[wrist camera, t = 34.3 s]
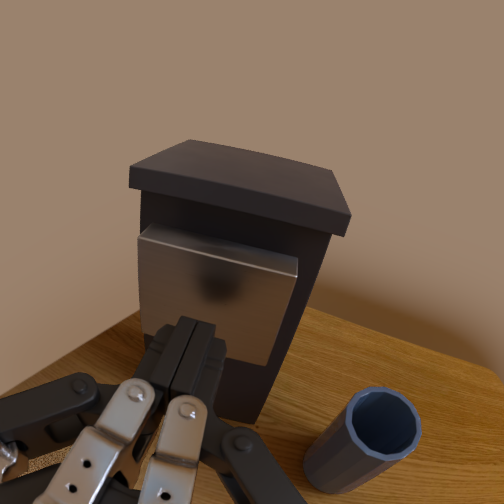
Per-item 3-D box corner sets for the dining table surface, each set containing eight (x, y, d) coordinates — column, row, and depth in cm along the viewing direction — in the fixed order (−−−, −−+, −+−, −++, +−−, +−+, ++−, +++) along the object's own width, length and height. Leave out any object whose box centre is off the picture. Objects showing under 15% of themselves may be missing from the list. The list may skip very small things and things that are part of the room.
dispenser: (173, 335, 32) (189, 139, 21) (269, 360, 32) (332, 170, 21) (138, 411, 23) (112, 174, 12) (256, 444, 22) (358, 229, 12)
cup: (313, 502, 18) (364, 472, 13) (295, 442, 23) (333, 393, 19) (374, 483, 19) (434, 443, 15) (353, 430, 25) (399, 379, 20)
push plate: (152, 314, 17) (152, 221, 14) (269, 345, 16) (298, 256, 13) (141, 332, 15) (136, 236, 12) (265, 367, 15) (297, 276, 12)
